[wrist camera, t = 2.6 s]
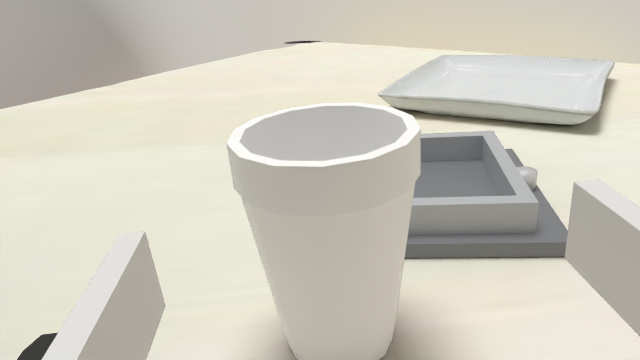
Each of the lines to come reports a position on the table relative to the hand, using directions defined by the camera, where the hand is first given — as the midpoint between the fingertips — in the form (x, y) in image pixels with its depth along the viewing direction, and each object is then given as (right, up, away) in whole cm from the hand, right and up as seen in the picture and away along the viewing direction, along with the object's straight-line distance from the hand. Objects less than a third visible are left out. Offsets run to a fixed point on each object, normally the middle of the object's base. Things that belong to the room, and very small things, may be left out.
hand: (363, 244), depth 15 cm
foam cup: (0, -8, +15) cm, 16 cm away
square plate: (+25, +14, +57) cm, 64 cm away
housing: (+8, 0, +29) cm, 30 cm away
